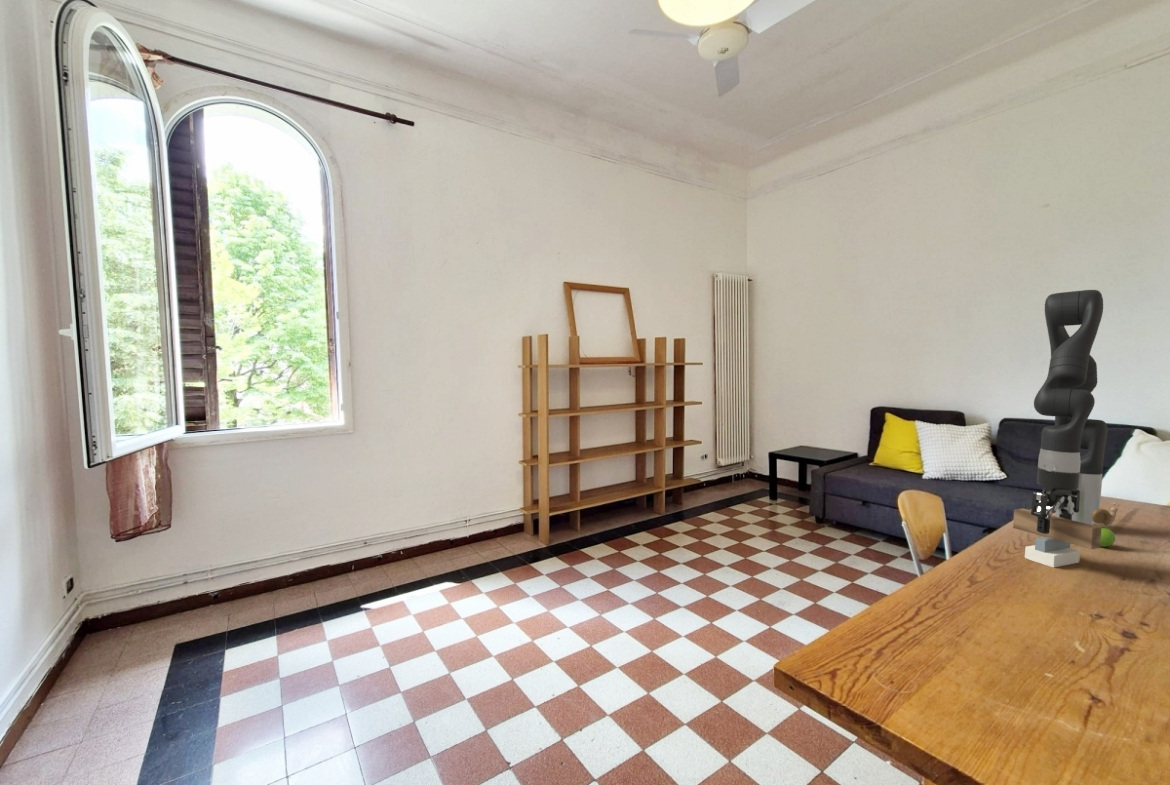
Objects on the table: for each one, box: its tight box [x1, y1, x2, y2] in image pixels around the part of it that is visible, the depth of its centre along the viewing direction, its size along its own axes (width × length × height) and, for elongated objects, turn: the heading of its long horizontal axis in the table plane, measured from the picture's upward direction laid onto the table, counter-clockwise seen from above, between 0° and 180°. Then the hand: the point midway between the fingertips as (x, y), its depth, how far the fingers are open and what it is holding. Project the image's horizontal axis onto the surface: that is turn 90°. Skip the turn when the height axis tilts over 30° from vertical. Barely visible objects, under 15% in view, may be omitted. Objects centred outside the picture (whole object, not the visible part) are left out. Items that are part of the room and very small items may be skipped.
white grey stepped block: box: [1024, 536, 1081, 568], centre depth 122 cm, size 10×6×6 cm, turn 108°
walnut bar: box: [1012, 508, 1102, 550], centre depth 122 cm, size 4×16×5 cm, turn 18°
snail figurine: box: [1091, 502, 1120, 548], centre depth 132 cm, size 5×6×12 cm
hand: (1053, 531), depth 122 cm, fingers open, 8 cm apart
